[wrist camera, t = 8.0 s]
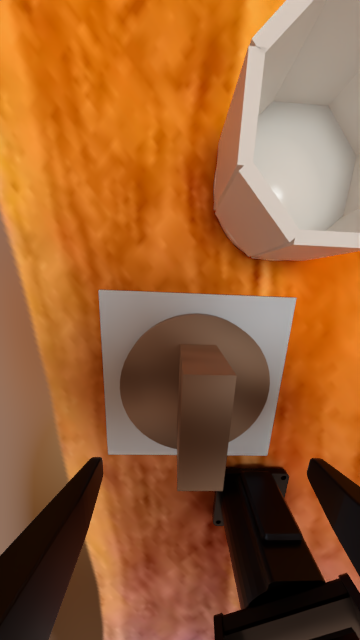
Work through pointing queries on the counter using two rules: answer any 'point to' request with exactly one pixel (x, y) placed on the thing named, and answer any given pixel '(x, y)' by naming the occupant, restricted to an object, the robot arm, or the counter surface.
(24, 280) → the counter surface
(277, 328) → the mat
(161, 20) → the counter surface
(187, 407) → the lid
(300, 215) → the bowl
